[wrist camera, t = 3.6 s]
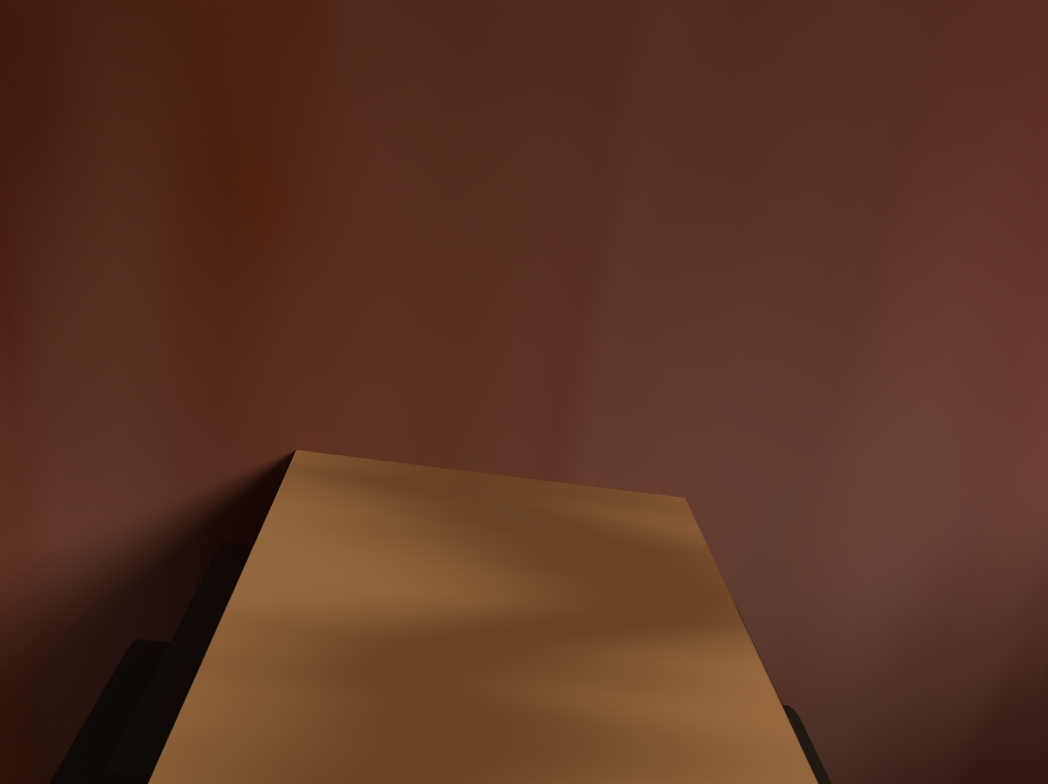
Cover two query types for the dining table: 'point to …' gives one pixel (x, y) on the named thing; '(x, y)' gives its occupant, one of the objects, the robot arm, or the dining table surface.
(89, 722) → the robot arm
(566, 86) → the dining table surface
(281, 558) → the walnut block
